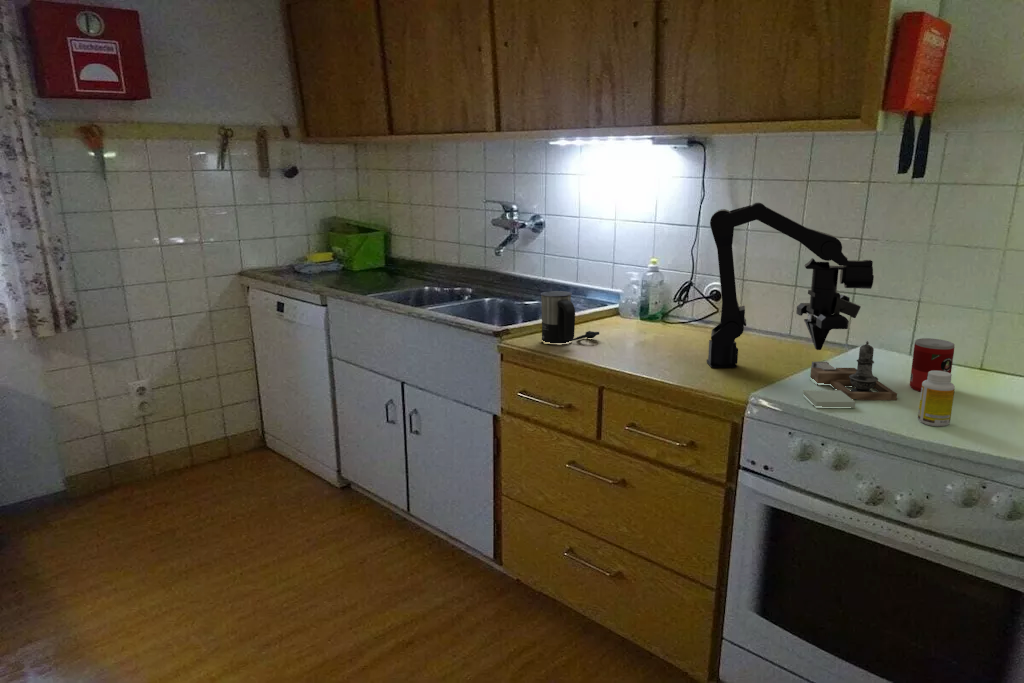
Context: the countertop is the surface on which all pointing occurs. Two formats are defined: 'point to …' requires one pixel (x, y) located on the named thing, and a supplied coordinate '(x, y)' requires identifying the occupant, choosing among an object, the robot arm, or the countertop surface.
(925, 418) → the supplement bottle
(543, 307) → the milk frother
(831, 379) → the brown wooden tray
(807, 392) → the grey square slab
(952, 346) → the canned food
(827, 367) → the key bar
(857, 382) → the dark grey tall figure
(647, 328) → the countertop surface
